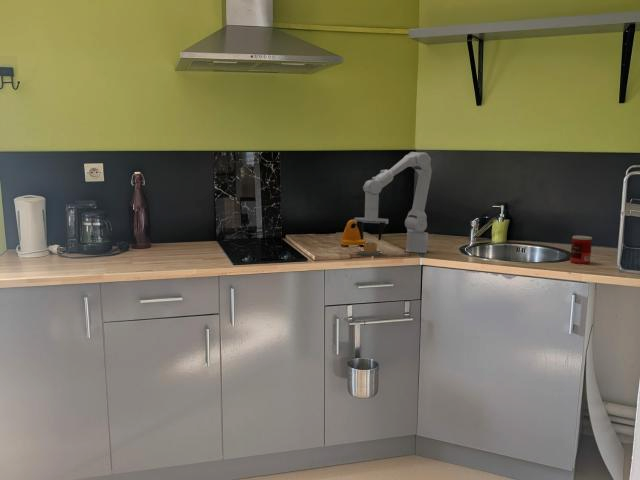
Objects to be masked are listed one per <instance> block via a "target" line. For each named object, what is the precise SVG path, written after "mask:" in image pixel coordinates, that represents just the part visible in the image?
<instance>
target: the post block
mask: <svg viewBox="0 0 640 480" xmlns="http://www.w3.org/2000/svg"><path fill="white" fill-rule="evenodd" d="M367 243H368V244H373V243H374V242H372V241H369V242H367ZM381 251H382V250H381ZM381 251H376V252H374V253H368V252H364V251H361V250H359V251H358V253H357V255H358V256H368V257H370V256H371V257H380V256H381V254H380V252H381Z"/></svg>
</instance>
